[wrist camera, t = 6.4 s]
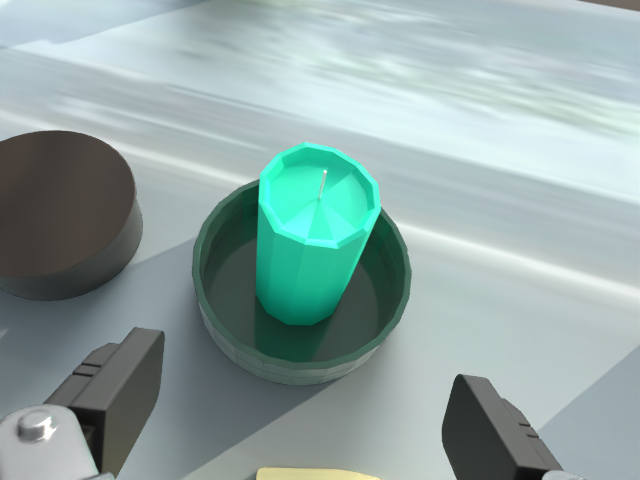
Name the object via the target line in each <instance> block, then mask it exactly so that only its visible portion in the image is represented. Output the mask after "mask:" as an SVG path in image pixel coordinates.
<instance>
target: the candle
mask: <svg viewBox="0 0 640 480" xmlns="http://www.w3.org/2000/svg"><path fill="white" fill-rule="evenodd" d="M380 211H381V206H380V197H379V189H378V184H377V182H376V181H375V180H374V179H373V178H372V177H371V175H370V174H369V173H368V172H367V171H366V170H365V169H364V167H363V166H362V165H361V164H360V163H358V162H357V161H355V160H353V159H352V158H350V157H348V156H347V155H345V154H343V153H342V152H340V151H338V150H337V149H335V148H332V147H327V146H322V145H317V144H311V143H306V142H304V143H301V144H299V145H297V146H295V147H292V148H290V149H288V150H286V151H283V152H281V153H279V154H277V155H276V156H275V157H274V158H273V160H272V161H271V162H270V163H269V164H268V165H267V167H266V168H265V169H264V170H263V171H262V172H261V174H260V184H259V203H258V232H257V261H256V290H255V293H256V295H257V297H258V299H259V300H260V302H261V304H262V306H263V307H264V309H265V311H266V313H268V314H269V315H271V316H273V317H275V318H276V319H278V320H280V321H282V322H283V323H285V324H287V325H311V326H312V325H314V324H315V323H317V322H319V321H321V320H323V319H325V318H327V317H328V316H330V315H332V314H333V312H334V310H335V308H336V307H337V305H338V303H339V301H340V300H341V298H342V296H343V294H344V292H345V290H346V287H347V285H348V283H349V281H350V278H351V276H352V274H353V272H354V269H355V267H356V265H357V263H358V260H359V258H360V256H361V254H362V251H363V249H364V247H365V245H366V242H367V240H368V238H369V236H370V233H371V231H372V229H373V227H374V224H375V222H376V220H377V218H378V215H379V213H380Z"/></svg>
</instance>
